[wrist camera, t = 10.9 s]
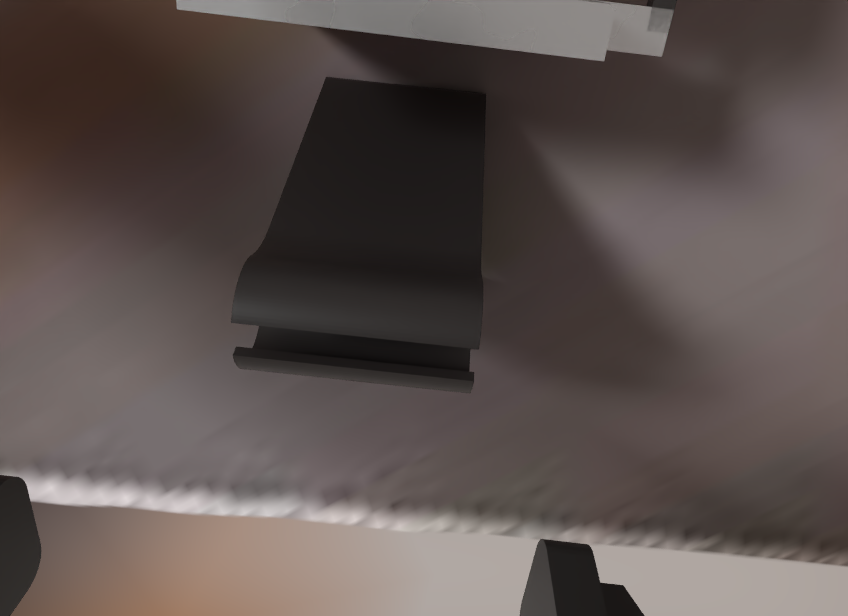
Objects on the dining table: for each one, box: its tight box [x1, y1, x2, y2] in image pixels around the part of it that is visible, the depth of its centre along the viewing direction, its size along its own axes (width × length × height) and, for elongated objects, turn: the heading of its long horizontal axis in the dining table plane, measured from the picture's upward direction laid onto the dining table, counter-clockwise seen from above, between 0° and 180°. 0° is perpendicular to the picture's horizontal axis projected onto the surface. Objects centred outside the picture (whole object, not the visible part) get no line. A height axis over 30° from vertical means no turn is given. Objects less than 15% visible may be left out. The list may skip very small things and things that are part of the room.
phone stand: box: [231, 77, 486, 393], centre depth 21 cm, size 9×6×12 cm, turn 174°
